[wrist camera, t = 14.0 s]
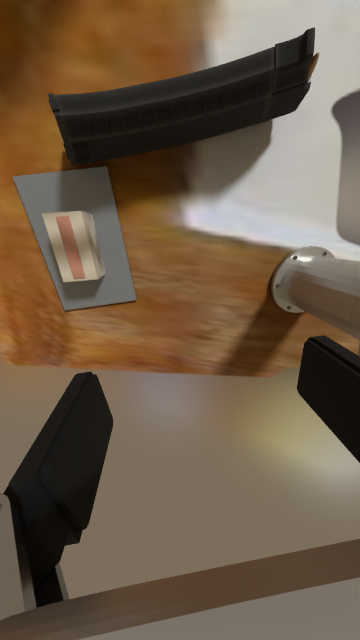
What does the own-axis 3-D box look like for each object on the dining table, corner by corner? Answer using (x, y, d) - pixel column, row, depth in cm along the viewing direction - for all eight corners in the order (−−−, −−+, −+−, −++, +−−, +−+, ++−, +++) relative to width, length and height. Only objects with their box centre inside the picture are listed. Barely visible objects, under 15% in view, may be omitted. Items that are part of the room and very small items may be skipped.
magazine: (16, 147, 19) (386, -20, 12) (-3, 103, 18) (400, -118, 10) (106, 179, 34) (293, 116, 27) (99, 157, 33) (294, 83, 25)
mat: (107, 167, 28) (106, 166, 27) (136, 299, 36) (136, 300, 35) (15, 178, 27) (12, 176, 27) (66, 309, 35) (64, 310, 35)
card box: (105, 273, 33) (97, 279, 29) (75, 276, 33) (62, 282, 28) (92, 214, 29) (80, 210, 25) (58, 216, 29) (40, 213, 25)
